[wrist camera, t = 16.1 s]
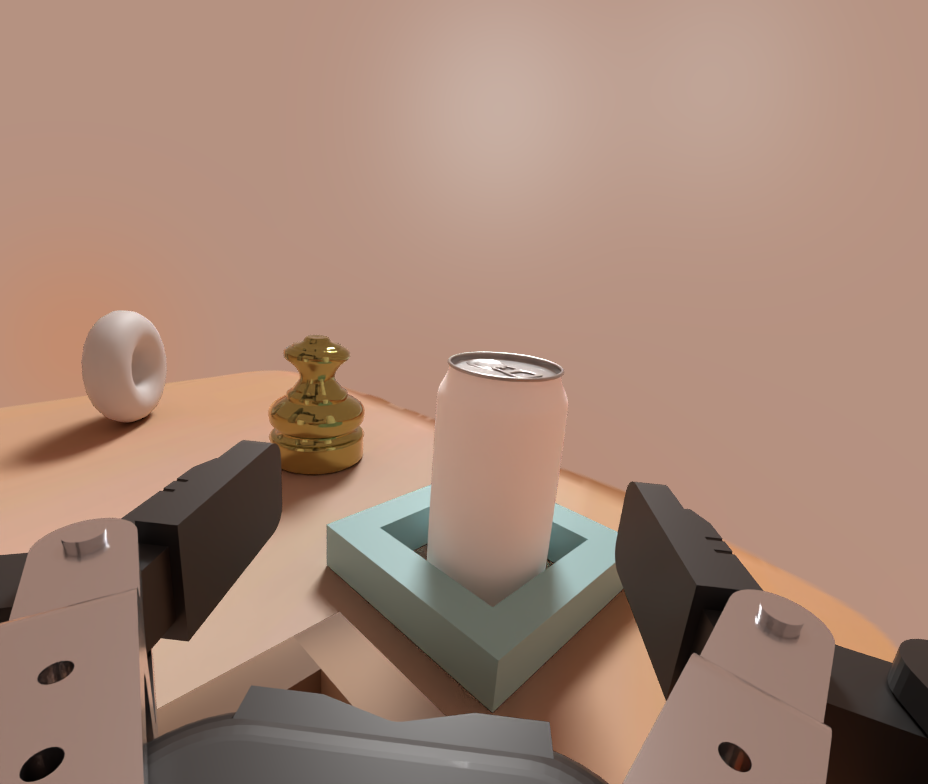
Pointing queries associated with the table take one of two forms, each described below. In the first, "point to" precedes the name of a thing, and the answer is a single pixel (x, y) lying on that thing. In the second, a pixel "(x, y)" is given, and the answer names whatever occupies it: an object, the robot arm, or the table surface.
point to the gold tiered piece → (317, 412)
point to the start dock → (310, 678)
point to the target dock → (459, 610)
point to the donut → (124, 366)
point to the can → (495, 470)
